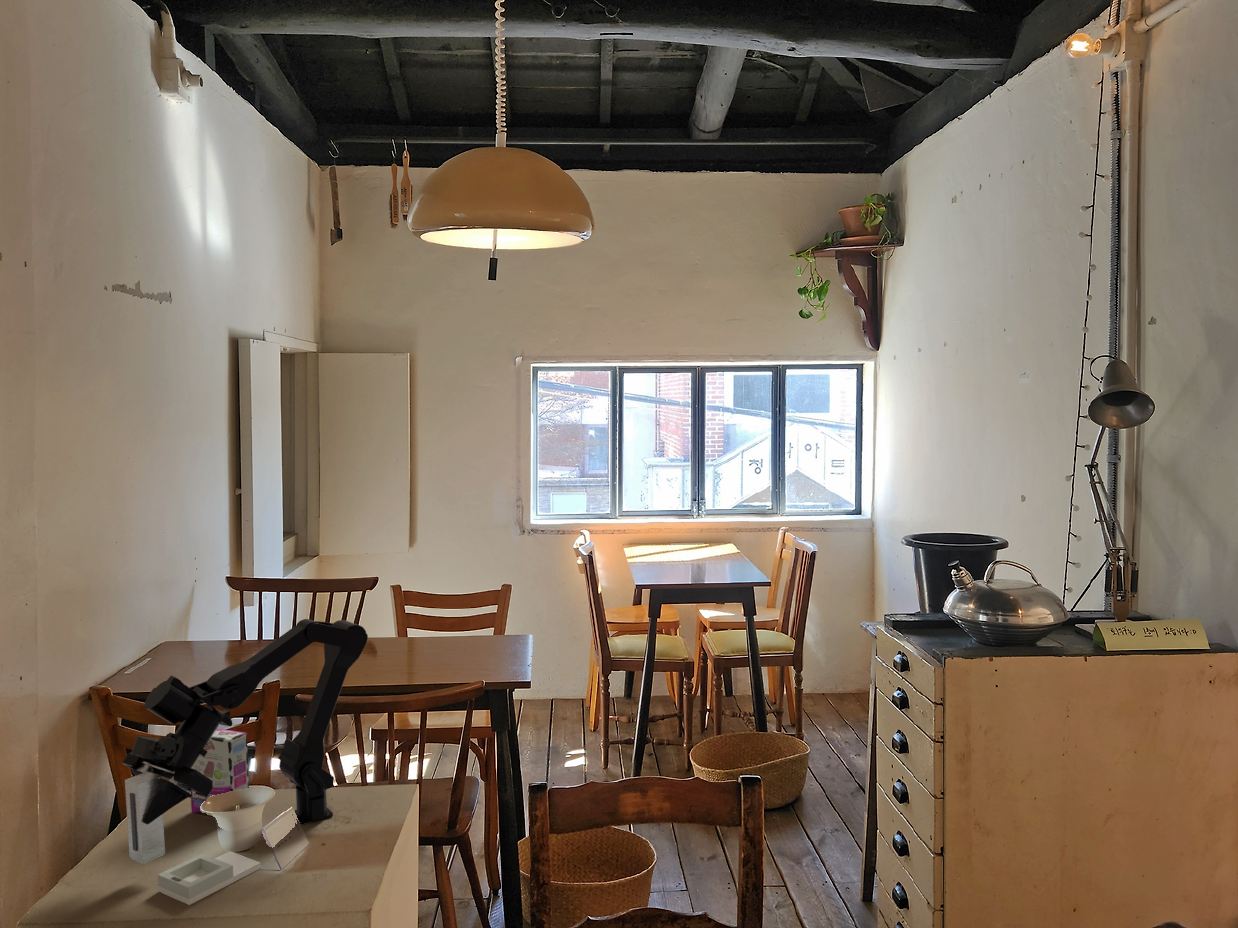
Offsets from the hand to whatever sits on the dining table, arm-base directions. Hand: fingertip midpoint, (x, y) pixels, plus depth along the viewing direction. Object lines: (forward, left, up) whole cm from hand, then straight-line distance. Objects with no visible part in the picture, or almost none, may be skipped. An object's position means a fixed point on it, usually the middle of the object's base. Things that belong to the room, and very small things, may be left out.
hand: (137, 820), depth 162 cm
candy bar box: (-21, +18, -11) cm, 30 cm away
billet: (-1, +1, -7) cm, 7 cm away
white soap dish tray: (+6, +10, -11) cm, 16 cm away
